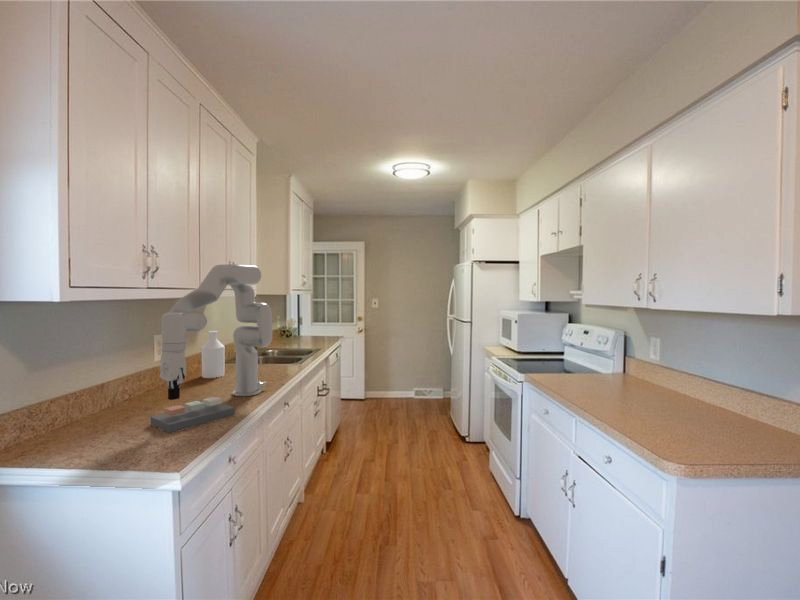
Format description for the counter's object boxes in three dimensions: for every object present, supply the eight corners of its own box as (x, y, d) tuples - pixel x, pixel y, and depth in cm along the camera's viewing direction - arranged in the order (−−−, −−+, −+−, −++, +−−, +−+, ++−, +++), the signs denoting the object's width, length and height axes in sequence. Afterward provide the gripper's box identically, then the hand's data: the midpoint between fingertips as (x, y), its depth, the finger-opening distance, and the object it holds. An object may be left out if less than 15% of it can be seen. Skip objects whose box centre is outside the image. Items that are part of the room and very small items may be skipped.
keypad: (214, 408, 161) (214, 401, 161) (234, 415, 153) (234, 407, 153) (150, 425, 142) (150, 416, 142) (169, 433, 134) (169, 424, 134)
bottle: (197, 376, 222) (197, 331, 221) (218, 372, 231) (218, 329, 230) (207, 379, 214) (207, 332, 213) (228, 375, 223) (228, 331, 222)
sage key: (197, 405, 151) (197, 400, 151) (204, 407, 148) (204, 402, 148) (184, 408, 147) (184, 403, 147) (191, 410, 144) (191, 405, 144)
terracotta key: (178, 409, 145) (178, 405, 145) (184, 412, 142) (184, 407, 142) (164, 413, 141) (164, 408, 141) (170, 415, 138) (170, 410, 138)
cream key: (214, 401, 156) (214, 396, 156) (221, 403, 154) (221, 398, 154) (203, 404, 153) (202, 399, 153) (209, 406, 150) (209, 401, 150)
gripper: (152, 346, 142) (152, 398, 142) (173, 350, 134) (173, 404, 134) (174, 344, 148) (174, 393, 149) (195, 348, 140) (195, 400, 140)
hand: (173, 398), depth 141 cm, fingers closed
